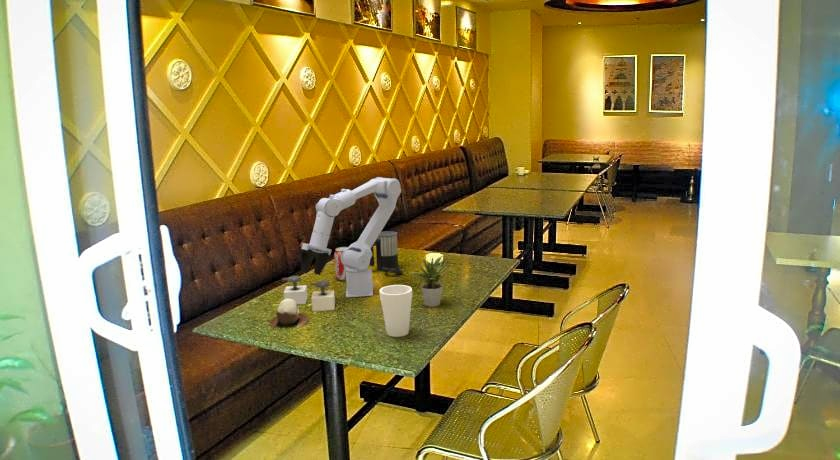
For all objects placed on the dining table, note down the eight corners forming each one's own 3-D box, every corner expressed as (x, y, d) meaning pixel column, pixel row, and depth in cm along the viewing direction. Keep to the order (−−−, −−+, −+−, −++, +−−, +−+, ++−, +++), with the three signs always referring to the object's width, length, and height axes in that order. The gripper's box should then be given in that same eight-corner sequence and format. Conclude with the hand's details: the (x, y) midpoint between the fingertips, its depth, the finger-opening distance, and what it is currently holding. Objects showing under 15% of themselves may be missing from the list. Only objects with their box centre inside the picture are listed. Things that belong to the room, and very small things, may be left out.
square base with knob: (307, 297, 200) (306, 285, 199) (305, 304, 193) (304, 291, 192) (287, 298, 199) (286, 286, 199) (284, 305, 193) (283, 292, 192)
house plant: (422, 293, 199) (421, 248, 196) (459, 298, 193) (458, 251, 190) (404, 307, 187) (401, 258, 183) (442, 312, 180) (441, 262, 177)
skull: (271, 312, 183) (291, 289, 182) (296, 332, 184) (316, 309, 183) (261, 325, 171) (282, 300, 170) (288, 346, 173) (309, 321, 171)
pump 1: (302, 287, 198) (301, 275, 197) (301, 291, 194) (300, 279, 193) (284, 289, 197) (282, 276, 197) (282, 293, 193) (281, 280, 192)
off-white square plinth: (335, 302, 193) (334, 290, 192) (334, 309, 186) (333, 296, 185) (314, 304, 193) (313, 291, 192) (312, 311, 186) (311, 298, 185)
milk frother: (386, 264, 240) (384, 230, 237) (416, 269, 231) (415, 233, 228) (364, 272, 229) (362, 236, 225) (394, 278, 219) (393, 240, 216)
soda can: (350, 281, 217) (348, 251, 215) (333, 281, 219) (331, 250, 216) (356, 276, 224) (354, 246, 221) (339, 275, 225) (337, 246, 223)
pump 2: (330, 293, 191) (329, 280, 190) (329, 297, 187) (328, 284, 186) (311, 294, 191) (310, 281, 190) (309, 298, 186) (308, 285, 185)
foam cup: (381, 327, 169) (379, 285, 167) (412, 325, 170) (410, 283, 168) (382, 340, 160) (379, 296, 158) (414, 337, 161) (413, 293, 158)
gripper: (323, 234, 197) (313, 272, 196) (298, 227, 184) (287, 268, 183) (340, 238, 194) (329, 277, 193) (316, 232, 181) (305, 273, 180)
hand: (310, 273), depth 188 cm, fingers open, 7 cm apart
